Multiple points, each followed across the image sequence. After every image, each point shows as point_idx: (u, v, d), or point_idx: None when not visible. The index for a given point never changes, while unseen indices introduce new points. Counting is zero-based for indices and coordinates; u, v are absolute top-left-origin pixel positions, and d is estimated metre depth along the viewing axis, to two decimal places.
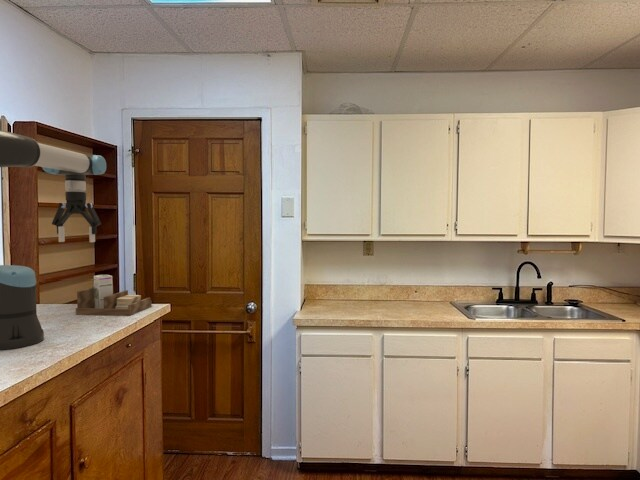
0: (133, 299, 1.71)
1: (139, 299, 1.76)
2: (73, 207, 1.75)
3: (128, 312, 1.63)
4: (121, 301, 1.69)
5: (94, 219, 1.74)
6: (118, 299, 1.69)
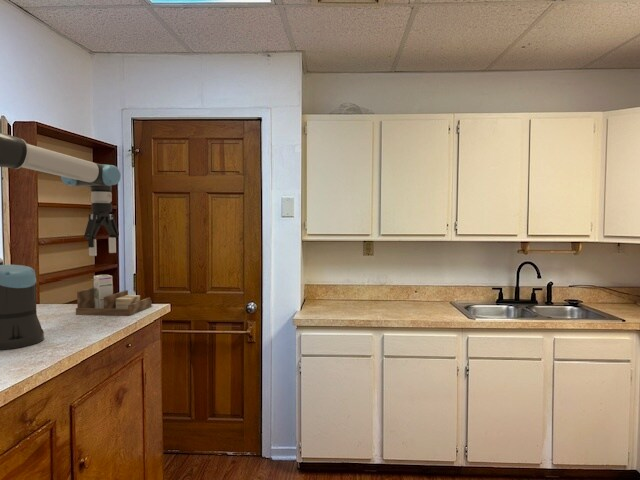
0: (132, 299, 1.70)
1: (139, 299, 1.76)
2: None
3: (128, 312, 1.63)
4: (120, 302, 1.69)
5: None
6: (117, 299, 1.69)
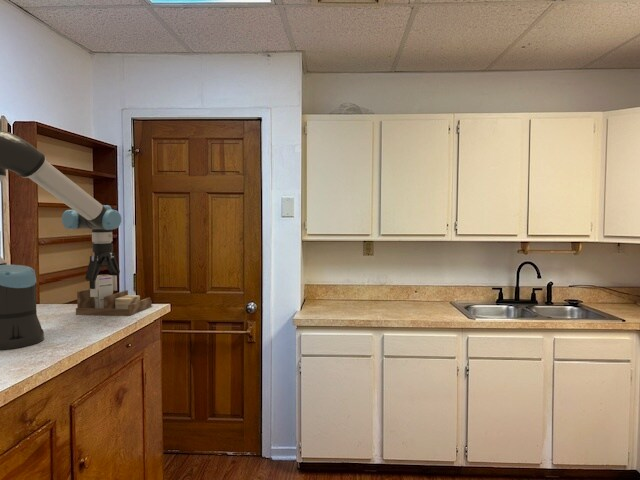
0: (132, 299, 1.70)
1: (139, 299, 1.75)
2: None
3: (128, 312, 1.63)
4: (120, 302, 1.68)
5: None
6: (117, 299, 1.69)
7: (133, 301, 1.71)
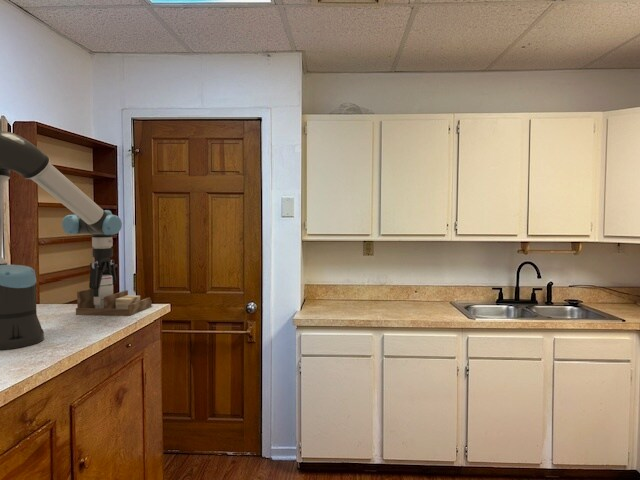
0: (132, 300, 1.70)
1: (139, 299, 1.75)
2: None
3: (128, 312, 1.63)
4: (120, 302, 1.68)
5: None
6: (117, 300, 1.68)
7: (133, 301, 1.71)
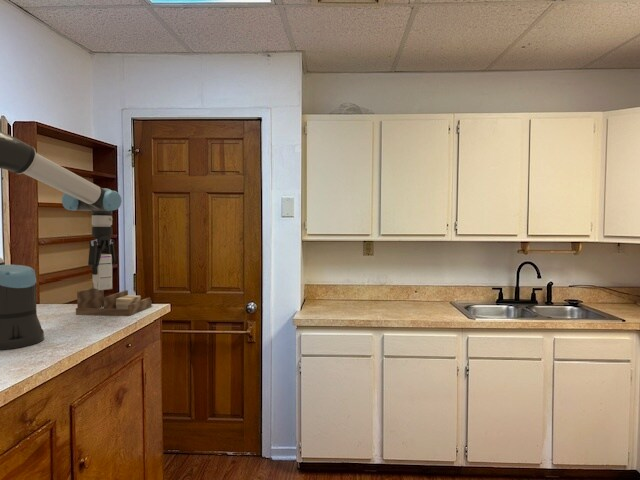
0: (132, 300, 1.70)
1: (139, 299, 1.75)
2: None
3: (128, 312, 1.63)
4: (120, 302, 1.68)
5: None
6: (117, 299, 1.68)
7: (133, 301, 1.71)
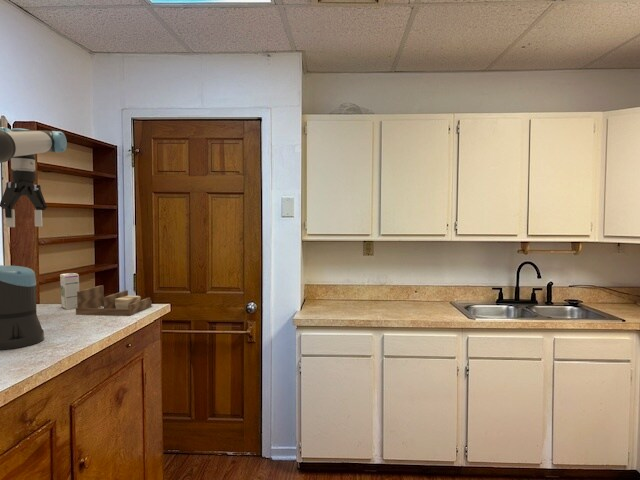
0: (131, 300, 1.69)
1: (139, 300, 1.74)
2: None
3: (128, 312, 1.63)
4: (119, 302, 1.68)
5: None
6: (116, 300, 1.69)
7: (132, 301, 1.70)
